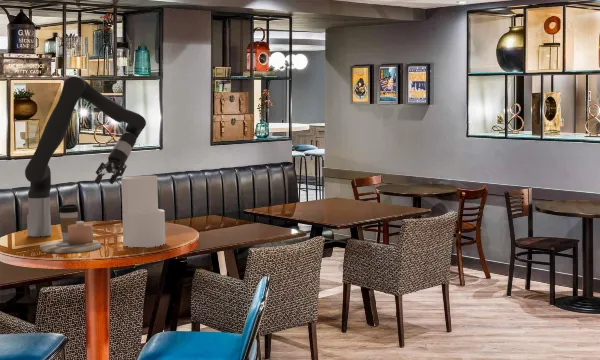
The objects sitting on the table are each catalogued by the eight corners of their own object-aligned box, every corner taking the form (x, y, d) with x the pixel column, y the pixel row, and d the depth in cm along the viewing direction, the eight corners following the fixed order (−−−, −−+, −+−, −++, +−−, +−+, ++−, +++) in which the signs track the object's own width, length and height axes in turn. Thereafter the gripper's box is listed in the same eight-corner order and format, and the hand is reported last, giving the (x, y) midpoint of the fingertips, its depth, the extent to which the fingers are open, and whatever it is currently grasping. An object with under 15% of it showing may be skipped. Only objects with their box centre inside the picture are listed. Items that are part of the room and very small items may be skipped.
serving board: (27, 251, 332) (27, 248, 332) (61, 242, 355) (61, 238, 355) (80, 254, 325) (80, 250, 325) (111, 244, 348) (111, 240, 348)
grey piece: (114, 245, 346) (112, 178, 343) (144, 239, 360) (142, 175, 357) (144, 249, 336) (142, 180, 333) (174, 242, 350) (172, 176, 348)
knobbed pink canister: (63, 243, 342) (62, 222, 341) (76, 239, 351) (76, 219, 350) (84, 244, 339) (84, 223, 338) (97, 240, 348) (97, 220, 348)
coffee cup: (83, 238, 363) (82, 204, 362) (72, 242, 355) (70, 207, 354) (67, 238, 366) (65, 204, 364) (55, 241, 358) (54, 206, 356)
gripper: (103, 148, 367) (86, 177, 359) (127, 147, 359) (110, 177, 351) (113, 159, 372) (97, 188, 364) (136, 158, 364) (120, 188, 356)
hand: (103, 182), depth 358 cm, fingers open, 8 cm apart
